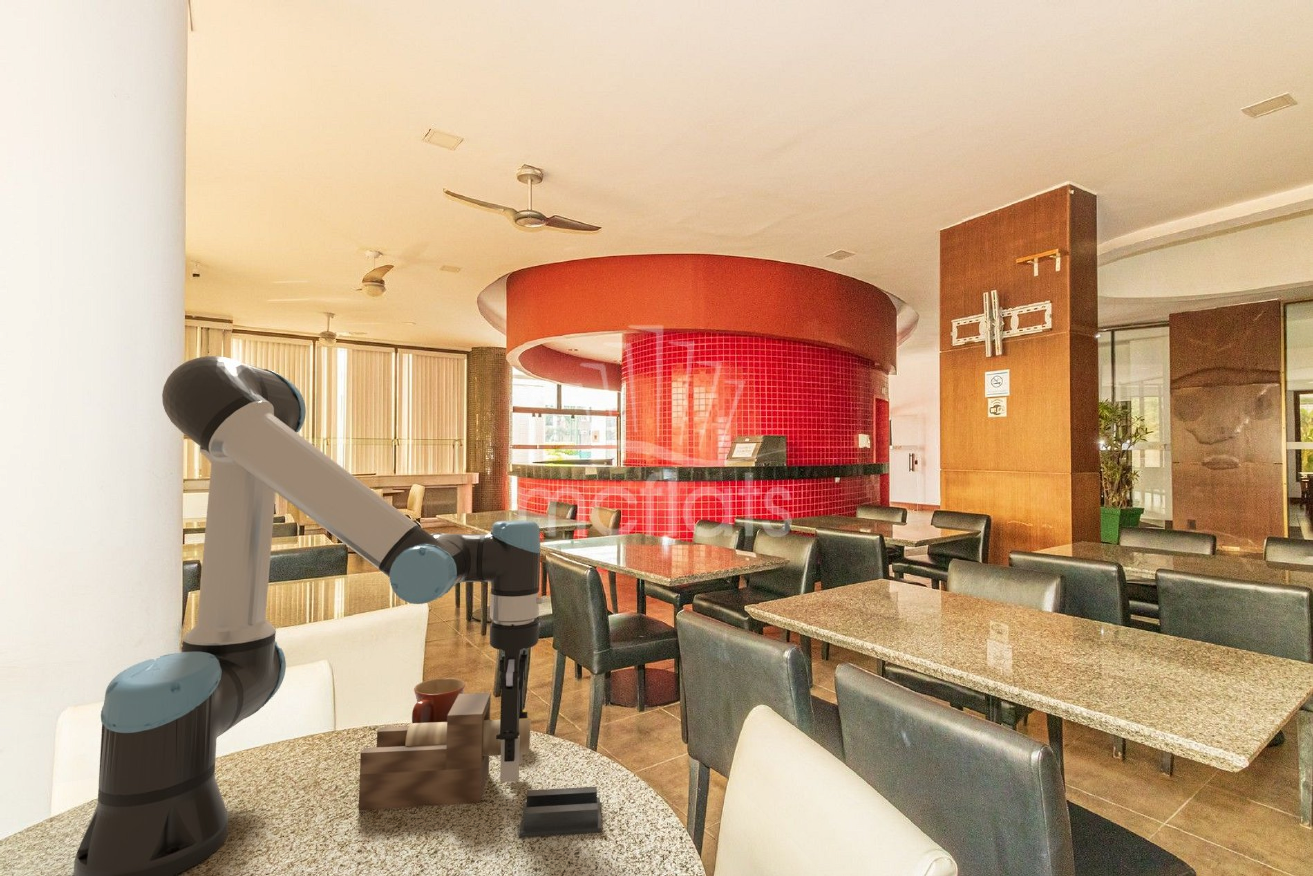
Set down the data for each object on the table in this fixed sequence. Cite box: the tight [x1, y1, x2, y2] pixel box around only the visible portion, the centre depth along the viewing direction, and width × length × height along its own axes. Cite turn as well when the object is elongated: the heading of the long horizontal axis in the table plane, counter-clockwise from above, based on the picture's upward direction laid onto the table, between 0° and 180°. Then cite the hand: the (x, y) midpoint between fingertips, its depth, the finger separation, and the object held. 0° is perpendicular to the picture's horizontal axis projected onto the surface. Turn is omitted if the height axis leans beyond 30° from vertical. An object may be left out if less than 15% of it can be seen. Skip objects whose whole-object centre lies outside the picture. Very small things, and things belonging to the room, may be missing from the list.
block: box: [358, 692, 492, 811], centre depth 94 cm, size 17×9×13 cm, turn 97°
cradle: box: [518, 786, 603, 839], centre depth 86 cm, size 11×8×3 cm
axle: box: [405, 718, 531, 757], centre depth 95 cm, size 18×5×5 cm, turn 99°
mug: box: [411, 677, 466, 723], centre depth 108 cm, size 12×9×10 cm
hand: (511, 771), depth 95 cm, fingers closed on axle, 5 cm apart
